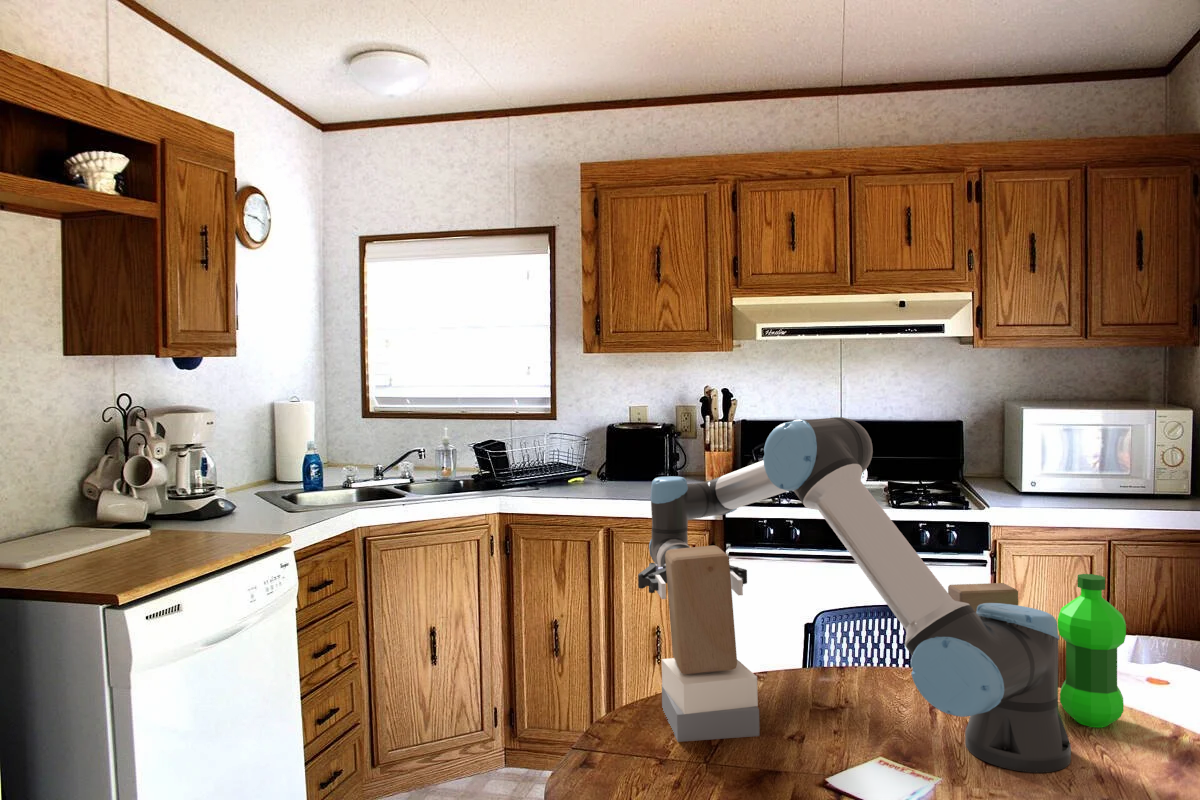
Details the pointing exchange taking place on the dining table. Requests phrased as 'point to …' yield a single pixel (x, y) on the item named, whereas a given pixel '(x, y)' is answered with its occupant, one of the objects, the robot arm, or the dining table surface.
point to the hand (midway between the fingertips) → (702, 589)
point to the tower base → (710, 722)
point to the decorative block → (983, 594)
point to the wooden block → (701, 609)
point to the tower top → (709, 688)
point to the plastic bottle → (1091, 655)
